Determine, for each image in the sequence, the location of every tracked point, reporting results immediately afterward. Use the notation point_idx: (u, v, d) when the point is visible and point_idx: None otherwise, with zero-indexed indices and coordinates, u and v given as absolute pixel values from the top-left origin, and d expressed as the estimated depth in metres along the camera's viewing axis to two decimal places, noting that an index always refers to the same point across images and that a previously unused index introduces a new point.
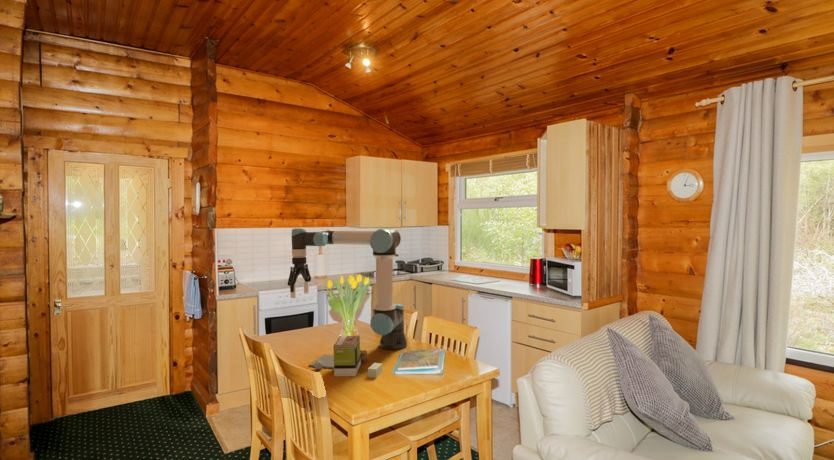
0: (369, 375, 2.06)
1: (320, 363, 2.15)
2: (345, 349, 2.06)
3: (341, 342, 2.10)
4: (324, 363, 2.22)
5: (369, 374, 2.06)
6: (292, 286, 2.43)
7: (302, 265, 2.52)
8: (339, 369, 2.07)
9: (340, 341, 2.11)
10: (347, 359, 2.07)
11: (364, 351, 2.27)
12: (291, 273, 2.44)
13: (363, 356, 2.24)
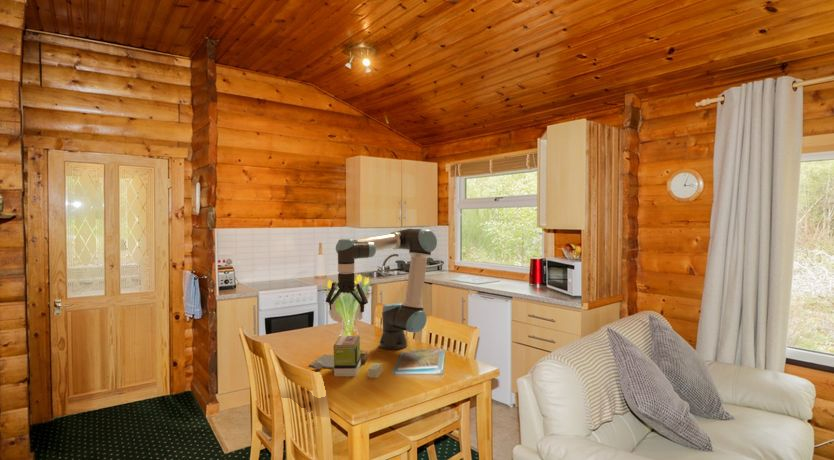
0: (370, 375, 2.06)
1: (320, 363, 2.15)
2: (345, 350, 2.06)
3: (341, 342, 2.10)
4: (324, 363, 2.22)
5: (370, 374, 2.06)
6: (329, 303, 2.15)
7: (348, 283, 2.11)
8: (339, 369, 2.07)
9: (340, 341, 2.11)
10: (347, 359, 2.07)
11: (364, 351, 2.27)
12: None
13: (363, 356, 2.24)
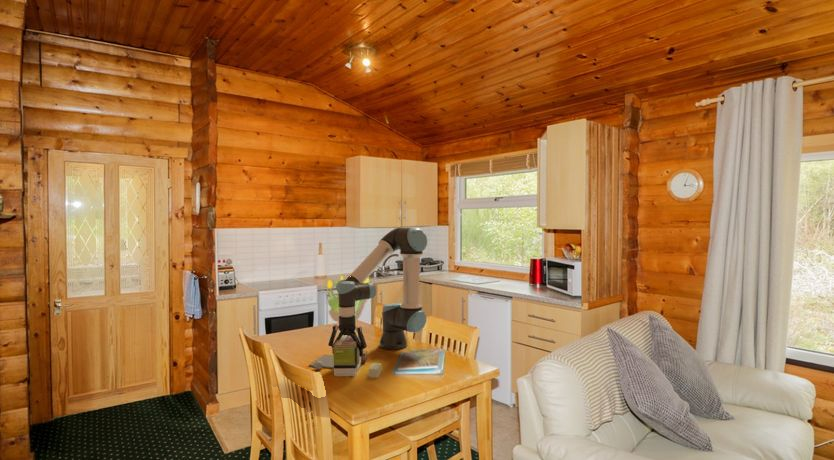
0: (370, 375, 2.06)
1: (320, 363, 2.15)
2: (345, 349, 2.06)
3: (341, 342, 2.10)
4: (324, 363, 2.22)
5: (370, 374, 2.06)
6: (332, 347, 2.15)
7: (349, 326, 2.12)
8: (338, 369, 2.07)
9: (340, 341, 2.11)
10: (346, 359, 2.07)
11: (364, 351, 2.27)
12: None
13: (363, 356, 2.24)
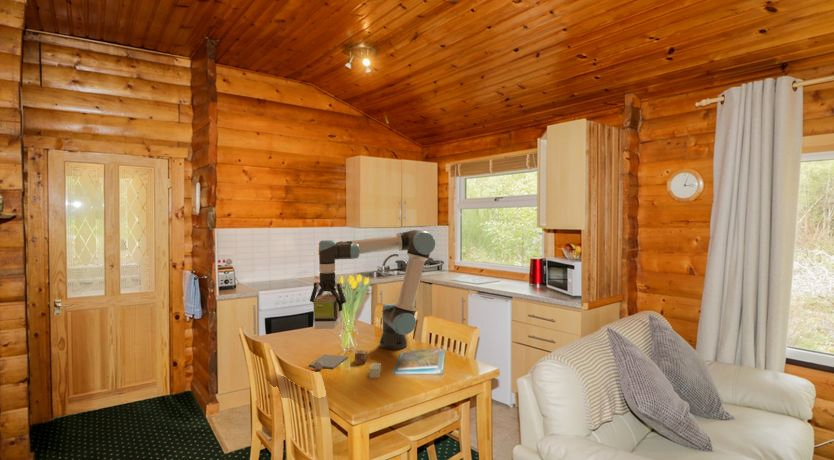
0: (371, 375, 2.06)
1: (320, 363, 2.15)
2: (324, 303, 2.17)
3: (321, 297, 2.21)
4: (324, 363, 2.22)
5: (371, 374, 2.06)
6: None
7: (329, 282, 2.23)
8: (318, 322, 2.18)
9: (321, 296, 2.22)
10: (326, 313, 2.18)
11: (364, 351, 2.27)
12: None
13: (363, 356, 2.24)
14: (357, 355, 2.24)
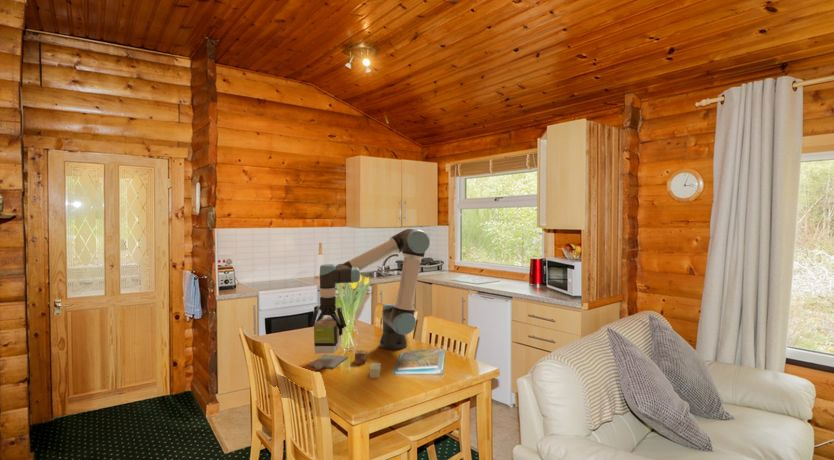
0: (371, 375, 2.06)
1: (320, 363, 2.15)
2: (325, 328, 2.18)
3: (321, 321, 2.21)
4: (324, 363, 2.22)
5: (371, 374, 2.06)
6: None
7: (329, 306, 2.24)
8: (319, 346, 2.19)
9: (321, 320, 2.23)
10: (326, 337, 2.18)
11: (364, 351, 2.27)
12: None
13: (363, 356, 2.24)
14: (357, 355, 2.24)
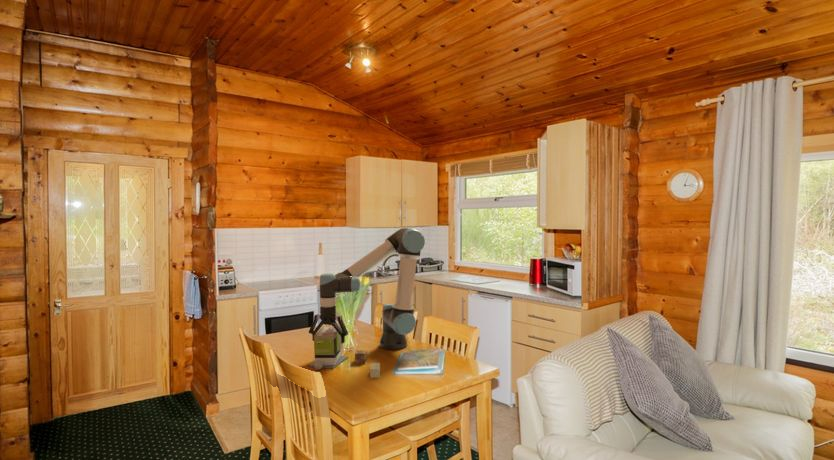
0: (372, 375, 2.06)
1: (320, 363, 2.15)
2: (325, 340, 2.18)
3: (321, 333, 2.22)
4: None
5: (372, 374, 2.06)
6: (312, 334, 2.28)
7: (329, 316, 2.24)
8: (319, 358, 2.19)
9: (321, 332, 2.23)
10: (326, 349, 2.19)
11: (364, 351, 2.27)
12: None
13: (363, 356, 2.24)
14: (357, 355, 2.24)
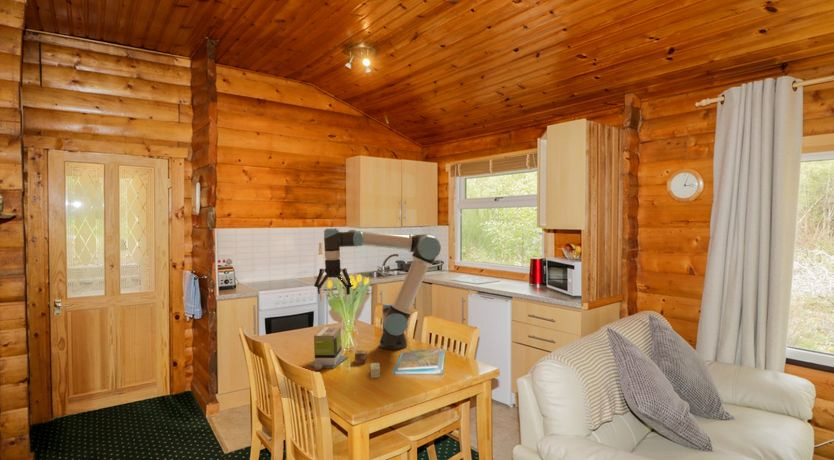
0: (372, 375, 2.06)
1: (320, 363, 2.15)
2: (325, 340, 2.18)
3: (321, 333, 2.22)
4: None
5: (372, 374, 2.06)
6: None
7: (334, 269, 2.32)
8: (319, 358, 2.19)
9: (321, 332, 2.23)
10: (326, 349, 2.19)
11: (364, 351, 2.27)
12: None
13: (363, 356, 2.24)
14: (357, 355, 2.24)
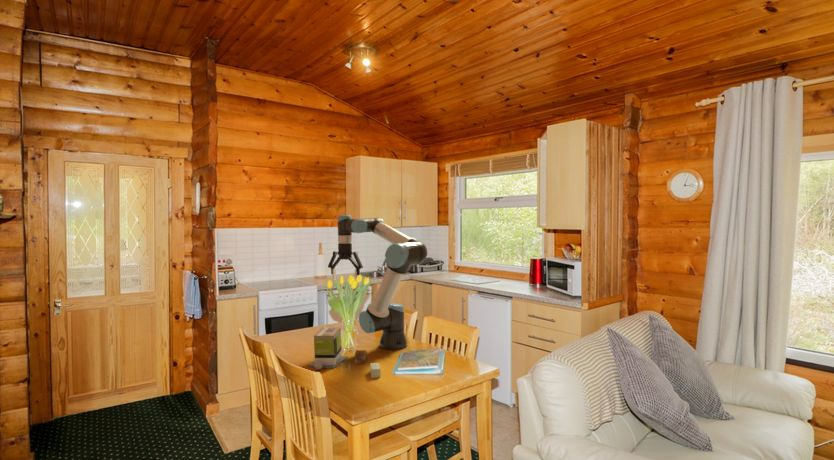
0: (373, 376, 2.06)
1: (320, 363, 2.15)
2: (325, 340, 2.18)
3: (321, 333, 2.22)
4: None
5: (373, 375, 2.06)
6: (331, 268, 2.60)
7: (346, 251, 2.56)
8: (319, 358, 2.19)
9: (321, 332, 2.23)
10: (326, 349, 2.19)
11: (364, 351, 2.27)
12: None
13: (363, 356, 2.24)
14: (357, 355, 2.24)
